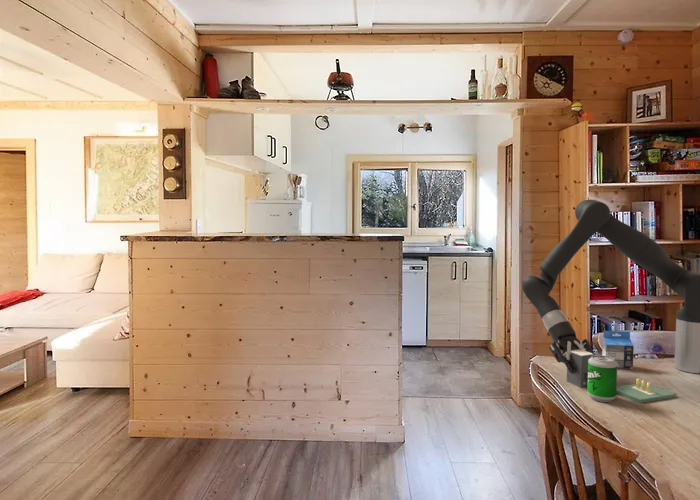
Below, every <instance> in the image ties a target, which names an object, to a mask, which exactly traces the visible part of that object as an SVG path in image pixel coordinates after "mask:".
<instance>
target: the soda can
mask: <svg viewBox="0 0 700 500" xmlns="http://www.w3.org/2000/svg"><path fill="white" fill-rule="evenodd" d="M617 380H618V368H617V362H616V361H615V360H614V359H613V358H611V357H608V356H602V354H601V355H600V354H599V355H598V354H597V355H596V354H595V355H594V356H592V357H591V358H590V359H588V385H587V392H586V393H587V395H588V396H589V397H590V398H591V399H592V400H594V401H597V402H601V403H611V402H613V401H614V400H615V399H617V393H616V387H618V386H617V385H618V383H617V382H618V381H617Z"/></svg>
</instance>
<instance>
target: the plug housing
mask: <svg viewBox="0 0 700 500" xmlns="http://www.w3.org/2000/svg"><path fill="white" fill-rule="evenodd" d="M592 356H594V354H592V353H590V352H587V351H584V350H580V349H578V350H571V354H570V360H571V361H572V362H573V364H574V366H575V368H576V369H577V372H576V373H574V374H571V372H569V370H568V369H567V368H566V382H567V383H569V384H572V385H574V386H576V387H578V388H580V389H582V388H584V384H585V385H587V386H588V359H590V358H591V357H592Z"/></svg>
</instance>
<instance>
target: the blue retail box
mask: <svg viewBox="0 0 700 500" xmlns="http://www.w3.org/2000/svg"><path fill="white" fill-rule="evenodd" d="M602 332H603V338H602V352H601V353H602V354H601V355H602V356H608V357H611V358H613V359H614V360H615V361H616V362H617V369H629V370H633V369H634V349H635V348H634V347H635V346H634V344H633V342H632V340H631V331H625V330H620V331H619V330H603V331H602ZM616 334H617V335H616Z"/></svg>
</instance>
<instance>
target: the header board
mask: <svg viewBox="0 0 700 500" xmlns="http://www.w3.org/2000/svg"><path fill="white" fill-rule="evenodd" d="M616 395H620V396H623V397H625V398H626V399H629V400H631V401H634V402H636V403H638V404H643V403H649V402H655V401H660V400H661V401H662V400H667V399H672V398H677V396H678V395H677V393H676V392H673V391H671V390H668V389H665V388H663V387H660V386H658V385H655V384H652V383H651V382H649V381H648V382H647V381H646V380H645V379H642V380H641V378H639V377H637V378H636V380H635V383H632V384H627V385H626V384H625V385H619V386H617V387H616Z"/></svg>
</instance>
